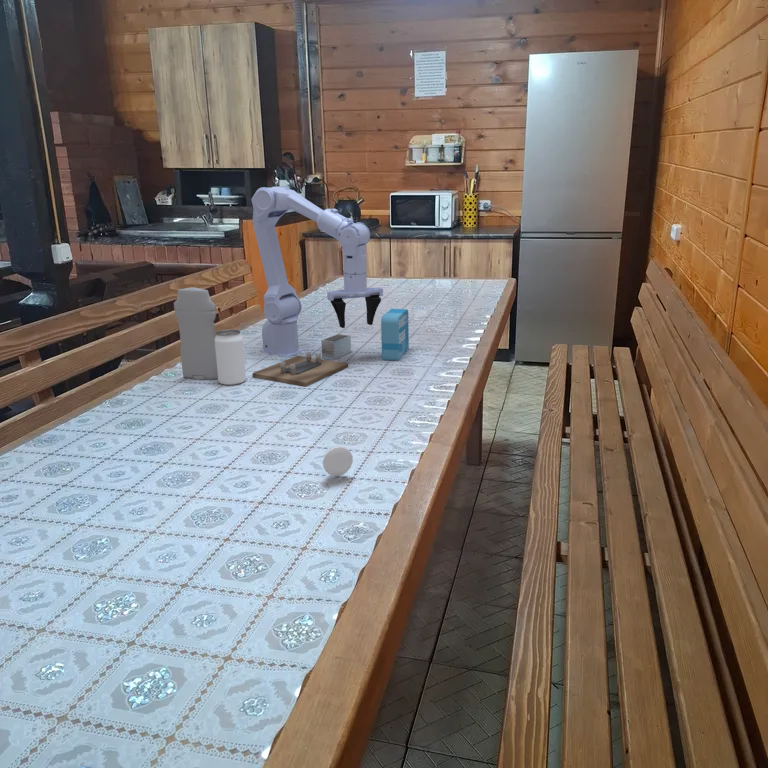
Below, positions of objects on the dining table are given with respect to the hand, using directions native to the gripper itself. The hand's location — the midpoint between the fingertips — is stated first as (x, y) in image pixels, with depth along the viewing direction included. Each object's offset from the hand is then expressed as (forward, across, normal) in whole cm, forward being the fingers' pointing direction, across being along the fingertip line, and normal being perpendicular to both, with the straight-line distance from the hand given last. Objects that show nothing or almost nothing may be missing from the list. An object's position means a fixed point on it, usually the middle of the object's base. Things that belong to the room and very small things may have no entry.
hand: (356, 325), depth 173 cm
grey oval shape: (+9, -28, -62) cm, 69 cm away
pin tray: (+9, -16, -4) cm, 19 cm away
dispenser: (+10, -39, +3) cm, 41 cm away
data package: (+10, +11, -1) cm, 14 cm away
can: (+10, -33, -4) cm, 35 cm away
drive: (+10, -3, +7) cm, 12 cm away
